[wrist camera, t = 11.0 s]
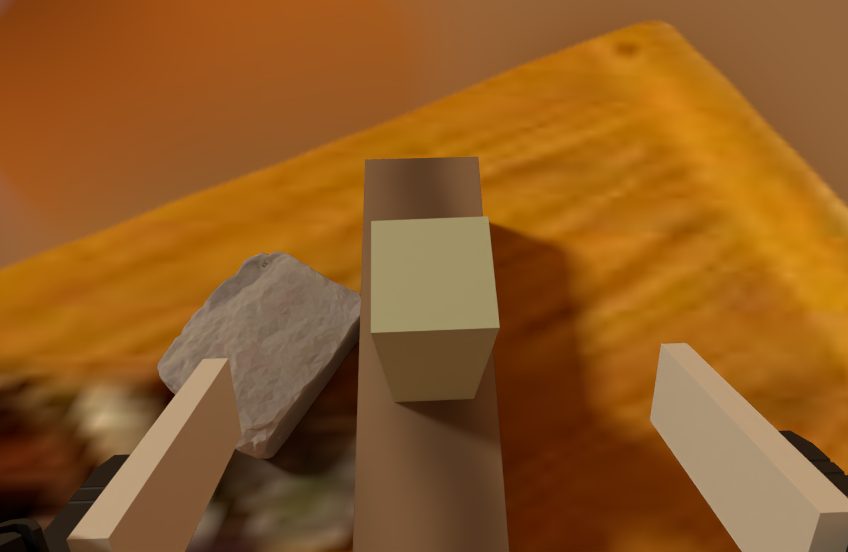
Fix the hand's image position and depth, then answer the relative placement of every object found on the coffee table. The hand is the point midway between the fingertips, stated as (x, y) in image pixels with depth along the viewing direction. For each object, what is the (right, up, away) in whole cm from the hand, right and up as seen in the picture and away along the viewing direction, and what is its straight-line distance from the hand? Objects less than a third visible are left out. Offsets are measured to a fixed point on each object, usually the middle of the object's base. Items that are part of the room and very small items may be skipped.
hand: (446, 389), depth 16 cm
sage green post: (0, -1, +11) cm, 11 cm away
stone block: (-11, -2, +19) cm, 22 cm away
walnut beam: (-1, -2, +18) cm, 18 cm away
